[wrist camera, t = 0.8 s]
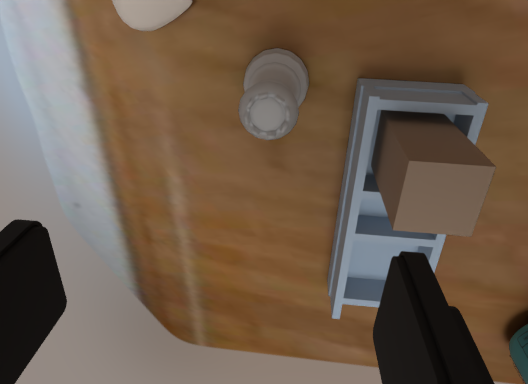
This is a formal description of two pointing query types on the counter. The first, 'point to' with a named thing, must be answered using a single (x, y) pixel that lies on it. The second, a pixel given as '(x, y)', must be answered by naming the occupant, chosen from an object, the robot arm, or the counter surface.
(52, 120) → the counter surface
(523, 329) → the beverage bottle
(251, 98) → the rook chess piece
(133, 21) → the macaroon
